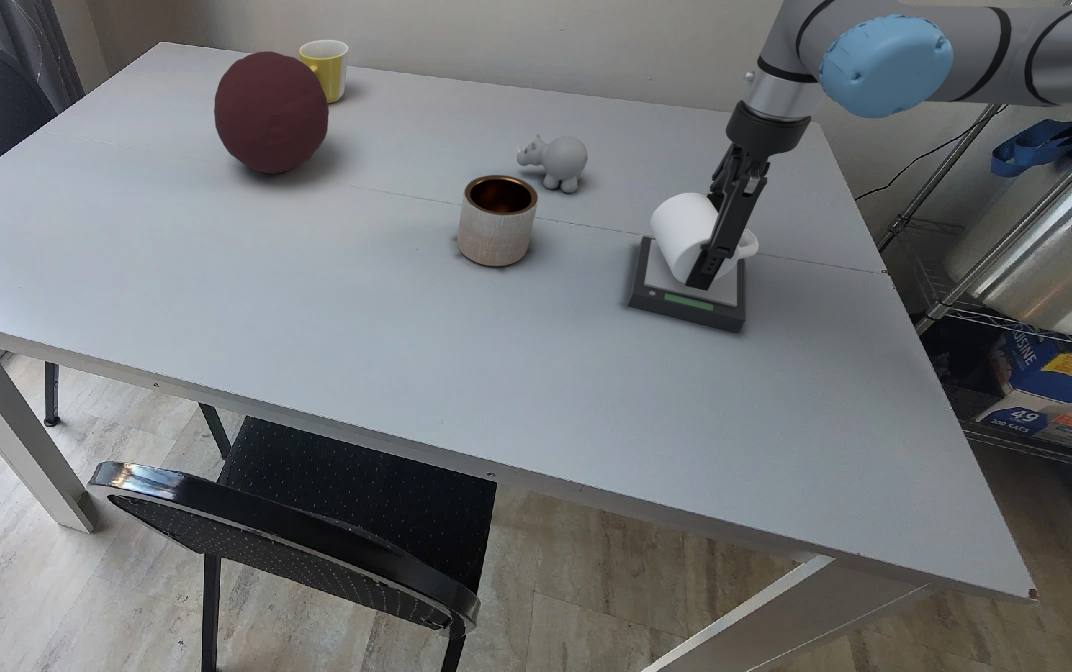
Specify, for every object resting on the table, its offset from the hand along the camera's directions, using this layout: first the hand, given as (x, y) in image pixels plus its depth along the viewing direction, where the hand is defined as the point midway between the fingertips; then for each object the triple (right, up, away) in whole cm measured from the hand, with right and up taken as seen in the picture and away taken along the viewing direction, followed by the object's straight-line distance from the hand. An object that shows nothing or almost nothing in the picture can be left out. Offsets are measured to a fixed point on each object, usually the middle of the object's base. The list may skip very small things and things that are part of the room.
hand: (698, 259), depth 82 cm
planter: (-26, +3, +11) cm, 29 cm away
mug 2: (0, 0, +1) cm, 1 cm away
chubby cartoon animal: (-13, +17, +24) cm, 32 cm away
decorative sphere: (-62, +21, +30) cm, 72 cm away
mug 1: (-54, +41, +48) cm, 83 cm away
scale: (0, -4, +4) cm, 5 cm away
